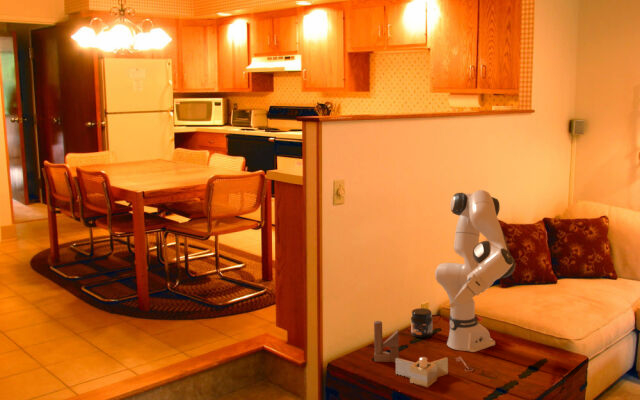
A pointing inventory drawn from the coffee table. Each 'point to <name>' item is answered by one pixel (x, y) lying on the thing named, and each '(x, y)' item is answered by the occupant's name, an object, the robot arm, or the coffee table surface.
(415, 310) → the supplement container
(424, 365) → the rounded cylinder
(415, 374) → the cream winged socket block
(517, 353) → the coffee table surface
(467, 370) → the key
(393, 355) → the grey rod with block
